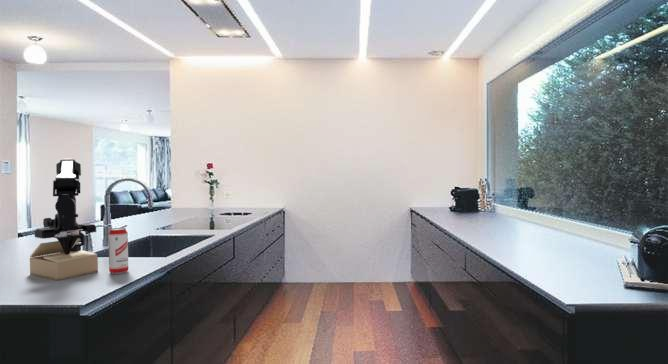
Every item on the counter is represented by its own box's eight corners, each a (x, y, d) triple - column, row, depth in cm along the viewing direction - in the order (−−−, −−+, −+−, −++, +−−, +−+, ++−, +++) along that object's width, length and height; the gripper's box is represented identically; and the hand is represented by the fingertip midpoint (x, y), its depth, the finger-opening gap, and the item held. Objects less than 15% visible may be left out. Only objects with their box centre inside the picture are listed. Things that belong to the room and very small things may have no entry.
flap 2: (82, 251, 163) (82, 250, 163) (96, 255, 159) (96, 253, 159) (43, 258, 151) (43, 256, 151) (57, 262, 147) (57, 260, 147)
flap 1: (69, 251, 168) (68, 249, 168) (79, 239, 164) (79, 238, 164) (30, 257, 156) (29, 256, 156) (40, 244, 152) (40, 243, 152)
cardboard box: (70, 266, 168) (69, 251, 168) (97, 271, 159) (97, 255, 159) (30, 274, 156) (29, 257, 156) (57, 280, 147) (57, 262, 147)
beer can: (132, 271, 159) (131, 228, 159) (117, 275, 153) (116, 230, 153) (120, 269, 162) (119, 227, 161) (105, 273, 156) (104, 229, 156)
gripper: (80, 207, 168) (80, 247, 168) (26, 212, 151) (26, 256, 152) (97, 209, 162) (97, 251, 163) (43, 214, 146) (43, 260, 147)
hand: (66, 254), depth 156 cm, fingers closed, pressing on flap 2
